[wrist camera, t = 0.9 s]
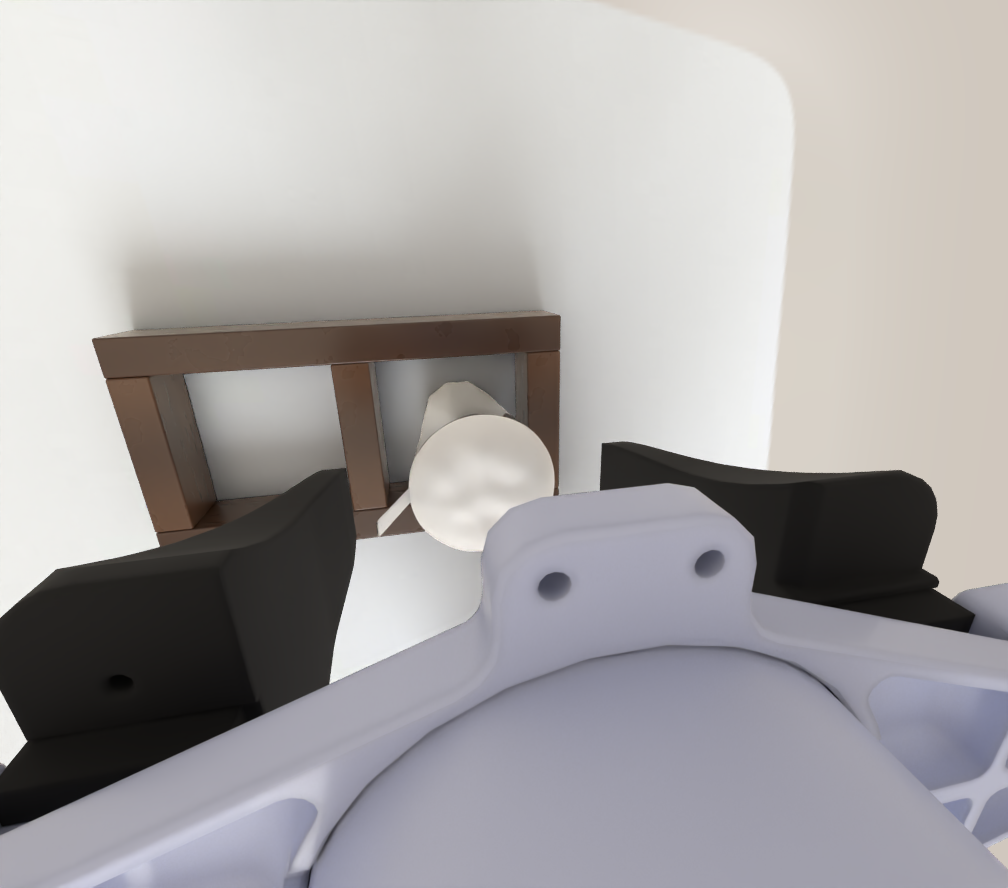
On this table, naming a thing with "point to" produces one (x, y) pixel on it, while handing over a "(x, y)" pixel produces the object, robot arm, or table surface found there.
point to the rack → (352, 355)
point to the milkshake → (471, 468)
